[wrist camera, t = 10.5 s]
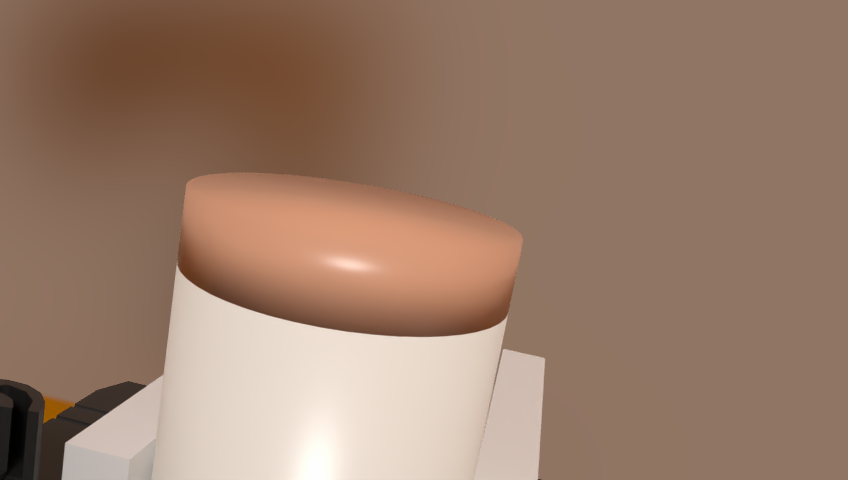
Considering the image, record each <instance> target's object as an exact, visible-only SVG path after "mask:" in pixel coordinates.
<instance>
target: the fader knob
mask: <svg viewBox="0 0 848 480" xmlns="http://www.w3.org/2000/svg"><path fill="white" fill-rule="evenodd" d="M522 244H523V238H522V236H521V235H520V233H519V232H517V231H516V230H515V229H514V228H512V227H510V226H509V225H507V224H505V223H503V222H501V221H498V220H497V219H494V218H492V217H489V216H486V215H484V214H481V213H479V212H476V211H473V210H470V209H467V208H463V207H460V206H457V205H454V204H450V203H446V202H443V201H439V200H435V199H431V198H427V197H423V196H419V195H415V194H410V193H405V192H401V191H396V190H391V189H386V188H380V187H376V186H370V185H364V184H358V183H351V182H345V181H338V180H330V179H323V178H315V177H306V176H296V175H284V174H269V173H222V174H211V175H205V176H201V177H197V178H194V179H192V180H190V181H189V182H188V183H187V184H186V192H185V201H184V209H183V218H182V226H181V234H180V242H179V251H178V259H177V268H176V276H175V284H174V294H173V301H172V310H171V318H170V326H169V335H168V343H167V352H166V360H165V370H164V377H163V385H162V394H161V402H160V411H159V419H158V428H157V436H156V444H155V453H154V461H153V470H152V478H151V480H474V477H475V472H476V467H477V462H478V457H479V453H480V448H481V443H482V438H483V433H484V428H485V423H486V419H487V414H488V409H489V404H490V399H491V394H492V389H493V384H494V379H495V374H496V370H497V365H498V360H499V355H500V350H501V346H502V341H503V336H504V330H505V326H506V321H507V317H508V311H509V307H510V301H511V297H512V292H513V287H514V283H515V278H516V273H517V268H518V263H519V258H520V253H521V248H522Z"/></svg>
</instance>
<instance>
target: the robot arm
mask: <svg viewBox="0 0 848 480" xmlns="http://www.w3.org/2000/svg"><path fill="white" fill-rule="evenodd" d="M544 366H545V358H541V357H537V356H533V355H528V354H524V353H519V352H515V351H511V350H506V349H503V353H502V357H501V362H500V366H499V371H498V375H497V379H496V383H495V388H494V392H493V397H492V401H491V406H490V410H489V414H488V418H487V423H486V427H485V431H484V436H483V440H482V445H481V449H480V453H479V458H478V462H477V467H476V472H475V477H474V480H540V479H538V465H539V448H540V432H541V416H542V399H543V382H544V381H543V380H544ZM163 377H164V375H162V376H161V377H159V378H158V379H156V380H155V381H154V382H152V383H151V384H150V385H148V386H146V385H141V384H137V383H133V382H129V381H128V382H124V383H121V384H117V385H114V386H110V387H107V388H103V389H99V390H96V391H95V392H93V393H92V394H90V395H89V396H87V397H85V398H84V399H82V400H81V401H79V402H77V403H76V404H75V406H74V407H69V408H68V409H66V410H65V411H63V412H61V413H60V414H58V415H57V417H56V419H53V418H52V419H50V420H49V421H47V422H46V423H44V424H43V419H44V408H45V401H44V399H43V397H42V395H41V393H40V392H39V391H37V390H35V389H34V388H32V387H30V386H28V385H25V384H22V383H18V382H14V381H10V380H3V379H0V480H151V478H152V470H153V461H154V453H155V444H156V436H157V428H158V419H159V411H160V402H161V394H162V385H163Z"/></svg>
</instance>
